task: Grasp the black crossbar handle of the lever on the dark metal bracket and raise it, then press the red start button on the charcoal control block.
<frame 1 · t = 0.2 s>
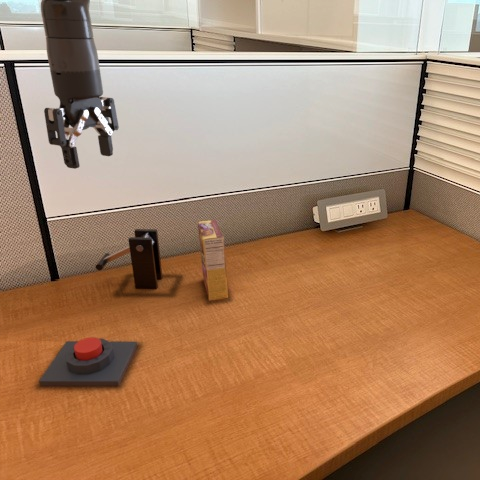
hand: (90, 161, 87), 29 cm above the table, tool pointing down, fingers open, 8 cm apart
button: (88, 349, 78), point 4 cm above the table, slide at 0.1 cm
control block: (92, 368, 80), on the table
lever: (124, 251, 99), point 9 cm above the table, hinge at -28.0°
candy box: (215, 294, 102), on the table
bracket: (149, 288, 103), on the table
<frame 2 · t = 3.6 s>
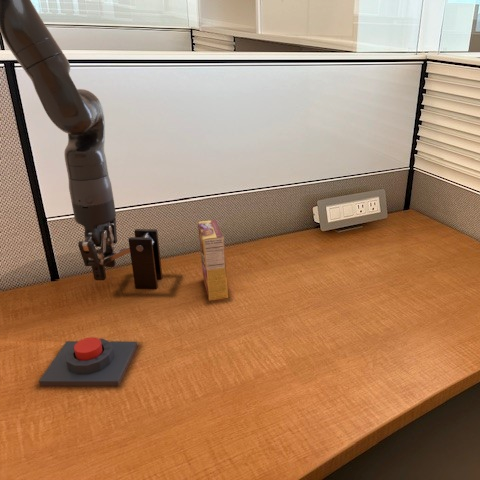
hand: (105, 272, 101), 4 cm above the table, tool pointing down, fingers closed on lever, 5 cm apart
lever: (124, 251, 99), point 9 cm above the table, hinge at -28.0°, touching gripper
everything else where it was.
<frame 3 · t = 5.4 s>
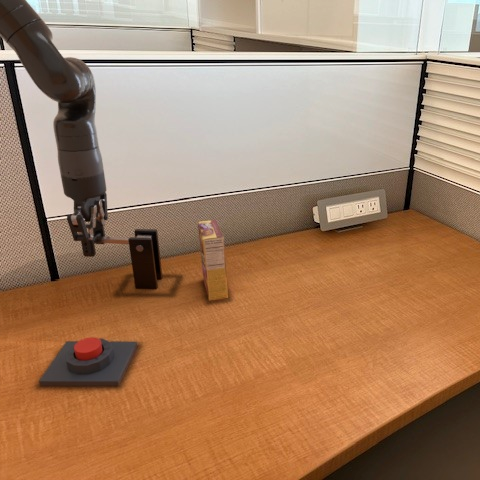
hand: (95, 249, 98), 9 cm above the table, tool pointing down, fingers closed on lever, 5 cm apart
lever: (120, 240, 98), point 11 cm above the table, hinge at 2.8°, touching gripper
everything else where it was.
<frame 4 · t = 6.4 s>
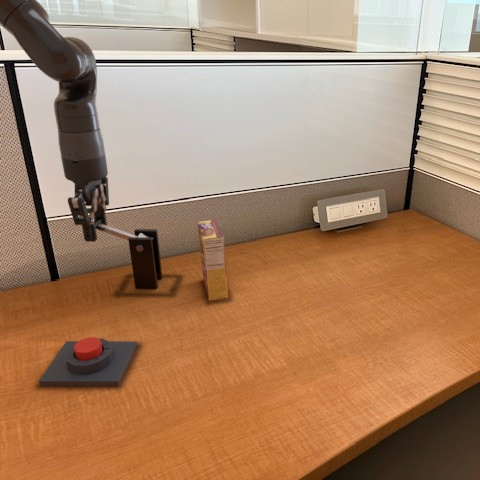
hand: (96, 234, 97), 13 cm above the table, tool pointing down, fingers closed on lever, 5 cm apart
lever: (121, 234, 97), point 13 cm above the table, hinge at 21.3°, touching gripper
everything else where it was.
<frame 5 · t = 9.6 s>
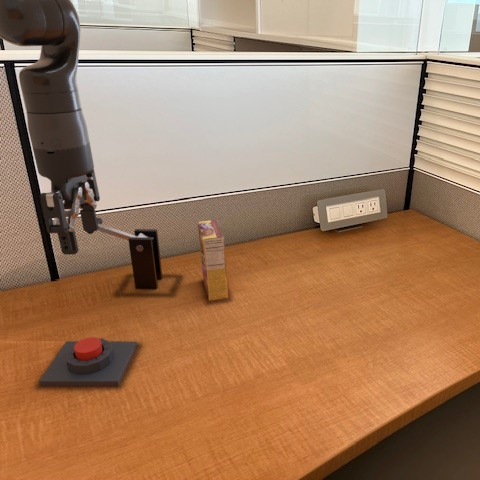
hand: (81, 241, 77), 20 cm above the table, tool pointing down, fingers open, 8 cm apart
lever: (121, 234, 97), point 13 cm above the table, hinge at 20.4°
everything else where it was.
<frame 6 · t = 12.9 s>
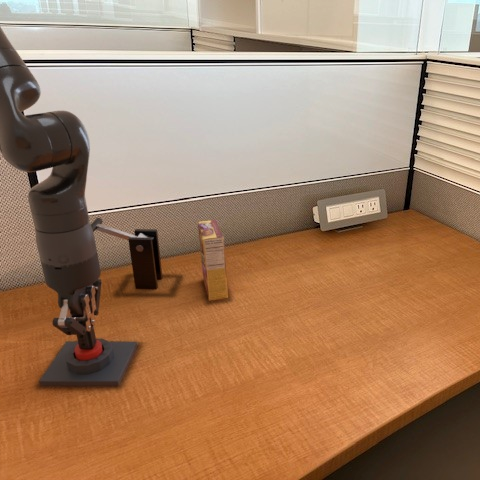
hand: (88, 346, 78), 4 cm above the table, tool pointing down, fingers closed
button: (88, 351, 78), point 4 cm above the table, slide at -0.3 cm, touching gripper
everything else where it was.
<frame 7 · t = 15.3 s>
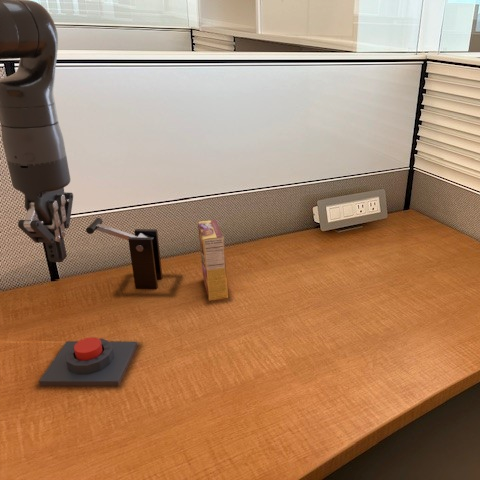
hand: (58, 260, 76), 18 cm above the table, tool pointing down, fingers closed
button: (88, 349, 78), point 4 cm above the table, slide at 0.1 cm
everything else where it was.
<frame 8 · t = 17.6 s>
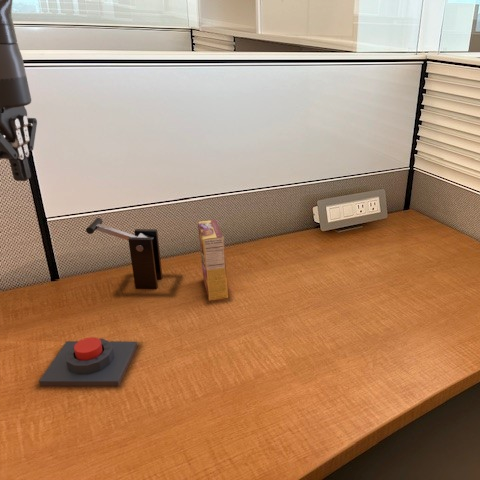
hand: (23, 179, 82), 27 cm above the table, tool pointing down, fingers closed
nothing on the table moved.
at the end: lever at +20° (first picture: -28°); button pushed in 1.1 cm at the most during the clip, back to where it started at the end; button slide at 0.1 cm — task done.
